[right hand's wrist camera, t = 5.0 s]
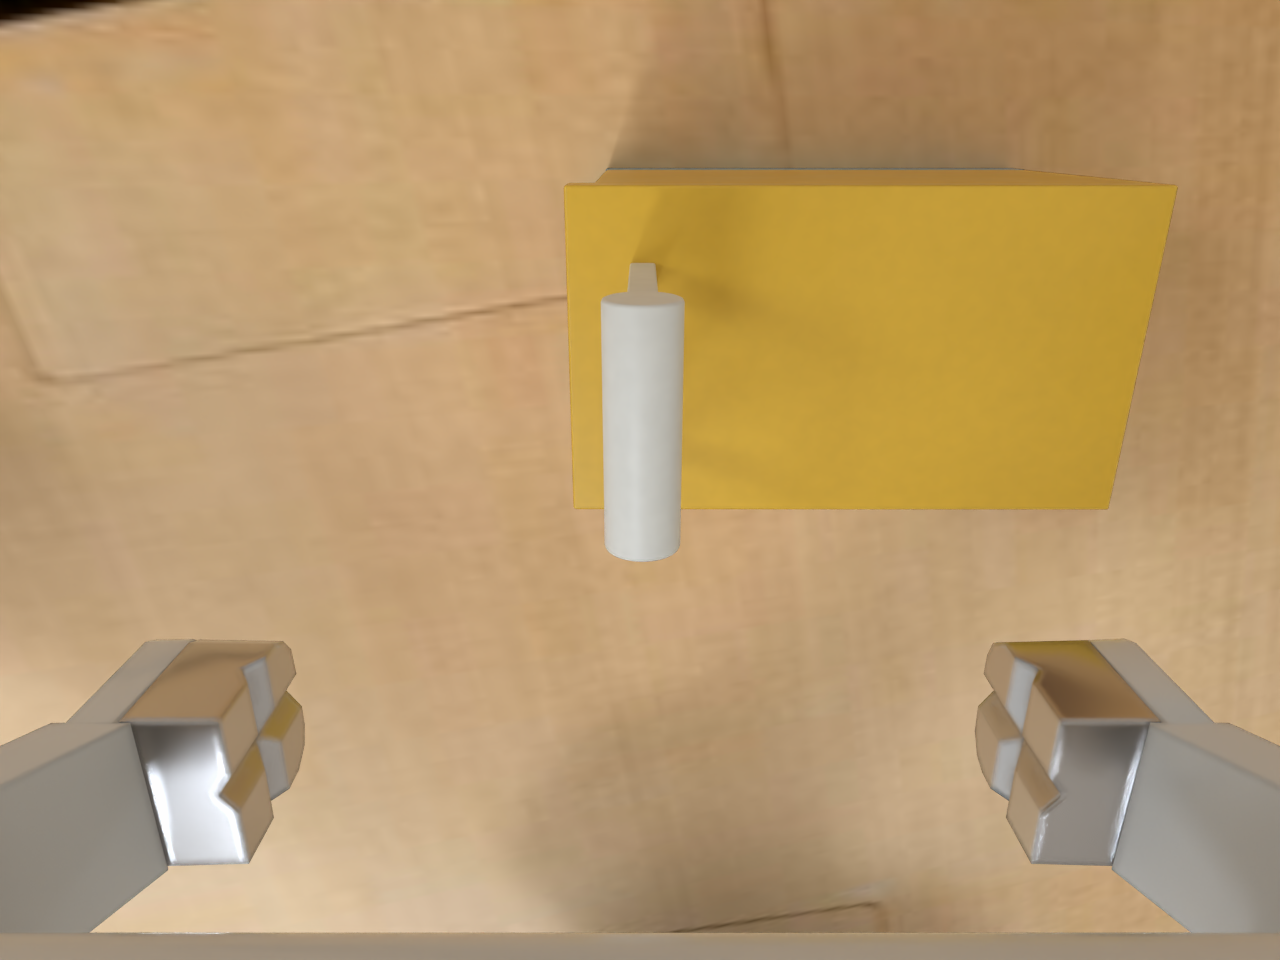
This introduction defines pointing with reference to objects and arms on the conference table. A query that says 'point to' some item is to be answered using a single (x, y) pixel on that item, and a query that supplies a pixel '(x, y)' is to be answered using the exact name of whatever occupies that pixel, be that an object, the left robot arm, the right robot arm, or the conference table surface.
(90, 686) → the conference table surface
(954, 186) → the lid
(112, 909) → the right robot arm
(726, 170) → the chest
